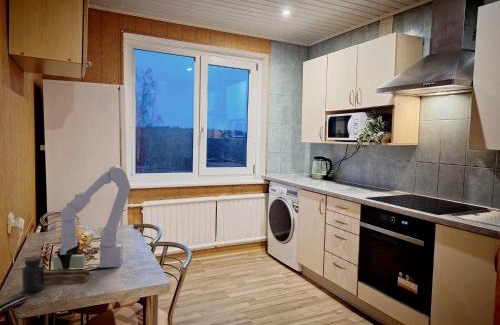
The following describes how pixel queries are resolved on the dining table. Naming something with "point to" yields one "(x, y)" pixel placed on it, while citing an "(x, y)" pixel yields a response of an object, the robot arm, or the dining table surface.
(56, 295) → the dining table surface
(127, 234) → the dining table surface
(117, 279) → the dining table surface
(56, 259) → the door panel
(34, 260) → the supplement bottle
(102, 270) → the dining table surface
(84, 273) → the brown flat wooden board
